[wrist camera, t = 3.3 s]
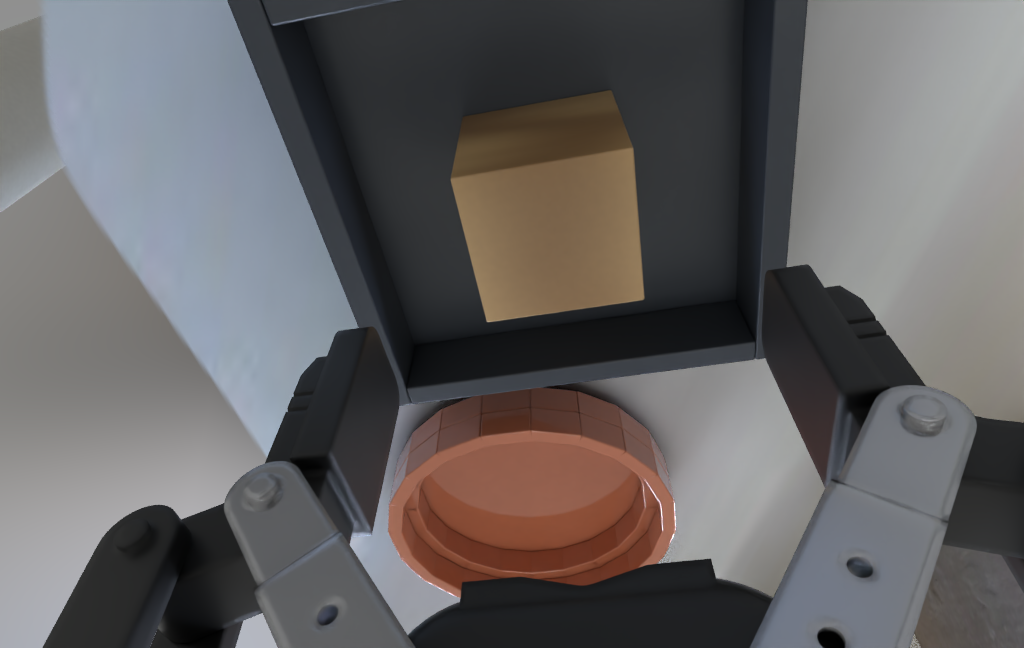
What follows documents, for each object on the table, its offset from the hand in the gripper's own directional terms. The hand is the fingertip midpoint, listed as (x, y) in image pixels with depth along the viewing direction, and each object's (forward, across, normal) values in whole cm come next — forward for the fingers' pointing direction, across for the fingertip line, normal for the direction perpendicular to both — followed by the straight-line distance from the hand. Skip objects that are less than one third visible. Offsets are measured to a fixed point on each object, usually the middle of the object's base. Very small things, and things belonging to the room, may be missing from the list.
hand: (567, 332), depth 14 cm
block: (+9, 0, 0) cm, 9 cm away
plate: (+9, +3, +15) cm, 18 cm away
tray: (+9, 0, 0) cm, 9 cm away
